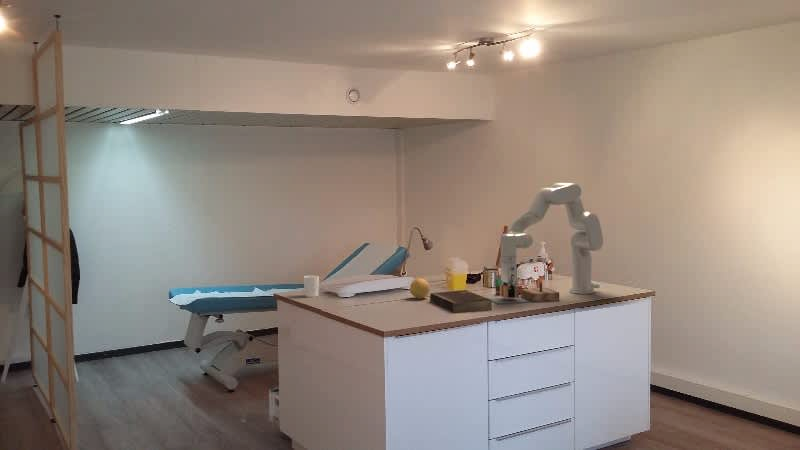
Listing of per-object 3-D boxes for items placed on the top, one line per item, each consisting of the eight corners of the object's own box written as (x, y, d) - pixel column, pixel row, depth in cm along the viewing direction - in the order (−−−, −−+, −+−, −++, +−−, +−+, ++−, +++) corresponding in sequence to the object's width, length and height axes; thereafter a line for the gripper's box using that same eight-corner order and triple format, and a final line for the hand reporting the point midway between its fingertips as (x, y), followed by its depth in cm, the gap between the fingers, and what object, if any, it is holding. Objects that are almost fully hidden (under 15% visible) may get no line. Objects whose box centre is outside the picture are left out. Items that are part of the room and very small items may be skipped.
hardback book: (430, 302, 351) (429, 292, 350) (465, 300, 357) (465, 290, 356) (453, 313, 323) (453, 302, 323) (491, 310, 329) (491, 299, 329)
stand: (546, 295, 364) (546, 279, 363) (559, 300, 350) (559, 283, 350) (520, 297, 360) (520, 280, 360) (532, 302, 347) (532, 285, 346)
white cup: (320, 294, 372) (320, 275, 371) (317, 297, 364) (317, 277, 363) (305, 294, 372) (305, 275, 372) (302, 297, 365) (301, 277, 364)
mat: (518, 297, 358) (518, 296, 358) (529, 302, 346) (529, 301, 346) (487, 299, 355) (487, 298, 355) (497, 304, 342) (497, 303, 342)
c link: (513, 295, 355) (513, 283, 354) (519, 297, 348) (519, 286, 347) (499, 295, 353) (499, 284, 352) (505, 298, 346) (505, 287, 346)
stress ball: (428, 298, 363) (415, 284, 367) (436, 285, 357) (423, 271, 361) (415, 304, 356) (402, 290, 360) (423, 291, 350) (410, 277, 354)
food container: (505, 296, 365) (505, 276, 364) (494, 294, 368) (494, 275, 367) (516, 292, 374) (516, 273, 374) (506, 291, 378) (506, 272, 377)
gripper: (523, 261, 341) (522, 298, 343) (508, 257, 358) (508, 292, 359) (508, 262, 339) (508, 299, 341) (494, 257, 356) (494, 293, 358)
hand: (508, 295), depth 350 cm, fingers closed on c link, 7 cm apart
